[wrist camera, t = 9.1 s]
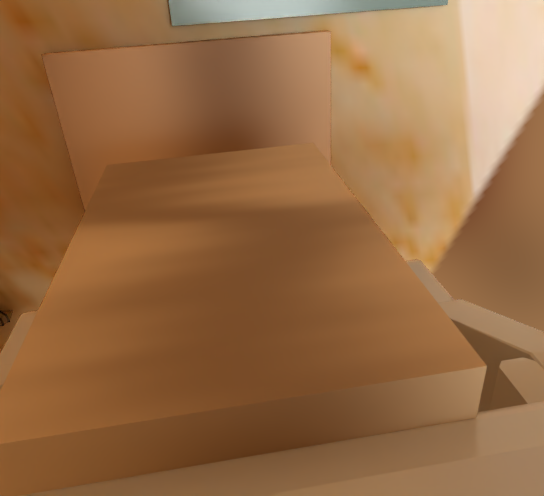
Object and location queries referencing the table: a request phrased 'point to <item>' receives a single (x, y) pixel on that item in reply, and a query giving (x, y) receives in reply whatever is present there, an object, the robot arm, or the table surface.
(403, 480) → the robot arm
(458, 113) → the table surface
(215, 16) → the tile
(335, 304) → the oak block
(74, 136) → the cork mat
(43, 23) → the table surface
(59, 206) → the table surface
